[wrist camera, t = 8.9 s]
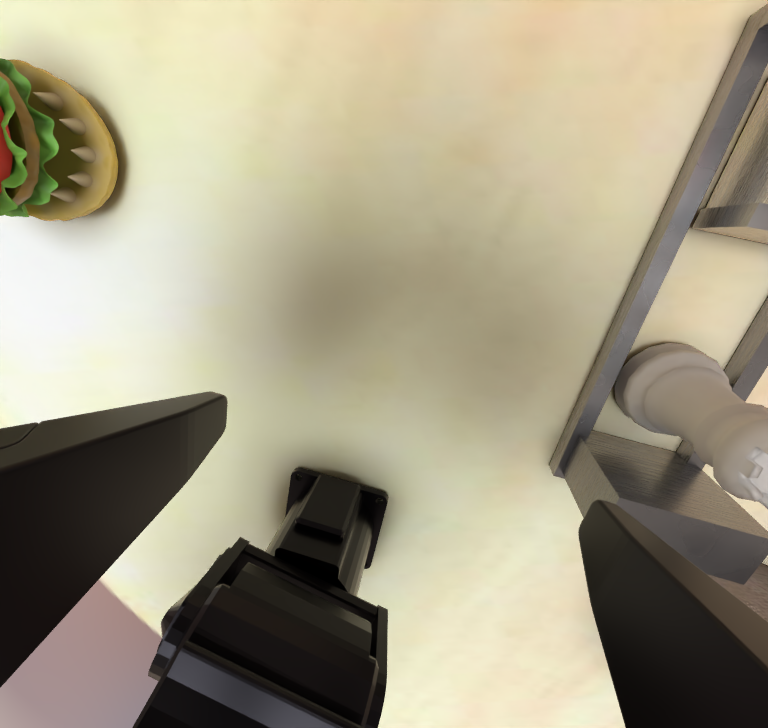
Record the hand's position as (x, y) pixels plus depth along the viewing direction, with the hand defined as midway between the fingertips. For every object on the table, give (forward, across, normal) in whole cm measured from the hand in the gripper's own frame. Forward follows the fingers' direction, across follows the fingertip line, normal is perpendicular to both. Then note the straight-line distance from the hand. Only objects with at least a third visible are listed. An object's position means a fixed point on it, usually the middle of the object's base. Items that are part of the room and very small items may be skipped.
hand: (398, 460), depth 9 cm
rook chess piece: (+12, -12, 0) cm, 17 cm away
